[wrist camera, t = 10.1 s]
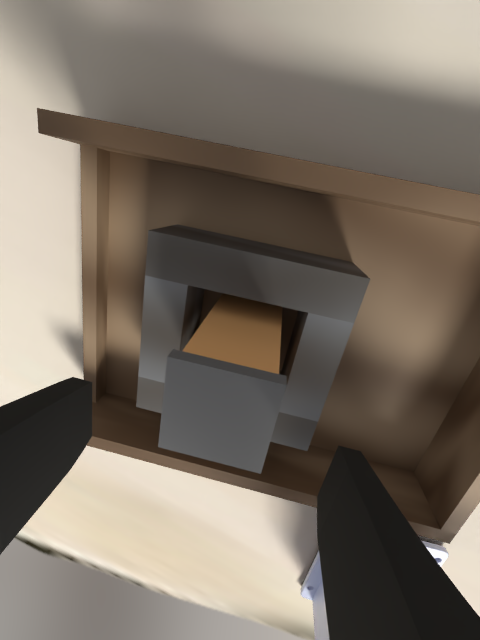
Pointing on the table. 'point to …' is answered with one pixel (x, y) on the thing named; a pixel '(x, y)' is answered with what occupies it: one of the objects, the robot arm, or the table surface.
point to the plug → (226, 386)
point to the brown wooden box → (287, 308)
